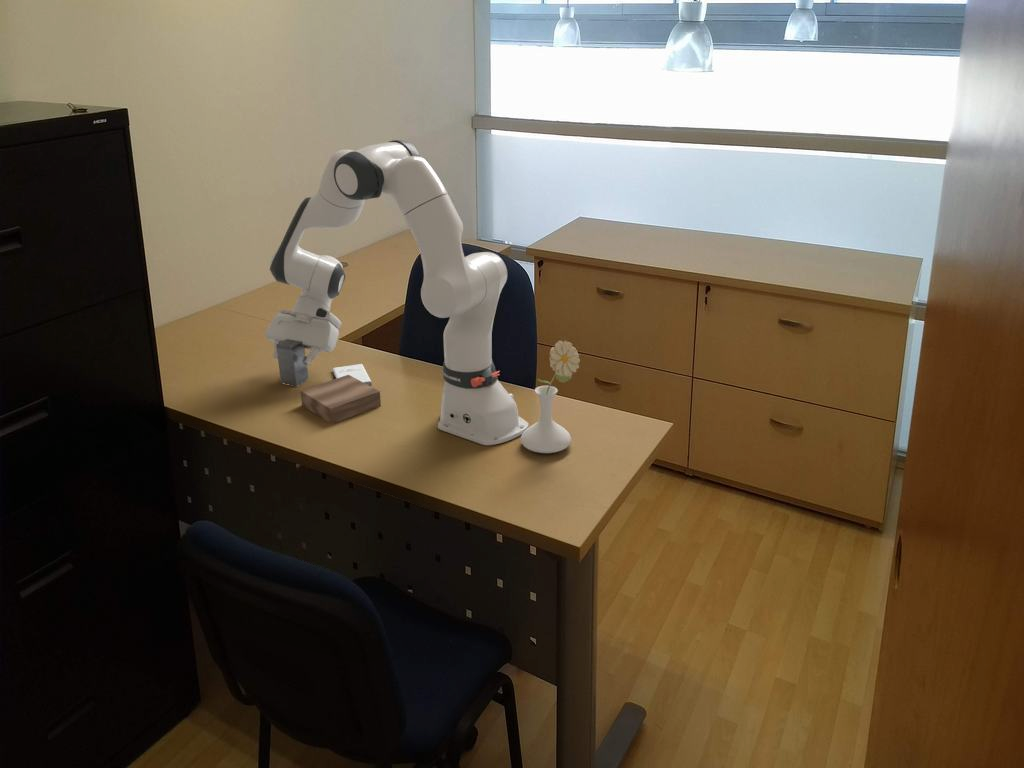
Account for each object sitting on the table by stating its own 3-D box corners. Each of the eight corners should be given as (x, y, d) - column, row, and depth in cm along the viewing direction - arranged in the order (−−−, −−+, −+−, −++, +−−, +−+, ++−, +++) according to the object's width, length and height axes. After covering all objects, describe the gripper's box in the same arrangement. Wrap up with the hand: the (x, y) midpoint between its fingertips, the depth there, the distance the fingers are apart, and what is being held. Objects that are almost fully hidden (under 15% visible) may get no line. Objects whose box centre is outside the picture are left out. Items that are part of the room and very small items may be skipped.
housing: (308, 379, 228) (303, 340, 223) (296, 386, 224) (291, 347, 219) (293, 376, 230) (288, 338, 225) (281, 383, 226) (276, 344, 221)
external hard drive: (340, 391, 222) (332, 373, 233) (371, 386, 225) (363, 368, 235) (339, 385, 222) (332, 367, 232) (371, 380, 224) (362, 363, 235)
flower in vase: (529, 461, 187) (529, 355, 177) (514, 437, 197) (513, 336, 187) (585, 452, 191) (588, 348, 180) (567, 429, 200) (570, 329, 190)
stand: (380, 405, 213) (379, 391, 211) (332, 423, 204) (330, 408, 203) (349, 388, 222) (348, 374, 221) (301, 405, 214) (300, 390, 212)
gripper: (271, 303, 229) (252, 350, 225) (335, 313, 221) (316, 362, 217) (284, 314, 235) (265, 359, 231) (347, 324, 227) (328, 372, 223)
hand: (291, 361), depth 224 cm, fingers open, 8 cm apart
